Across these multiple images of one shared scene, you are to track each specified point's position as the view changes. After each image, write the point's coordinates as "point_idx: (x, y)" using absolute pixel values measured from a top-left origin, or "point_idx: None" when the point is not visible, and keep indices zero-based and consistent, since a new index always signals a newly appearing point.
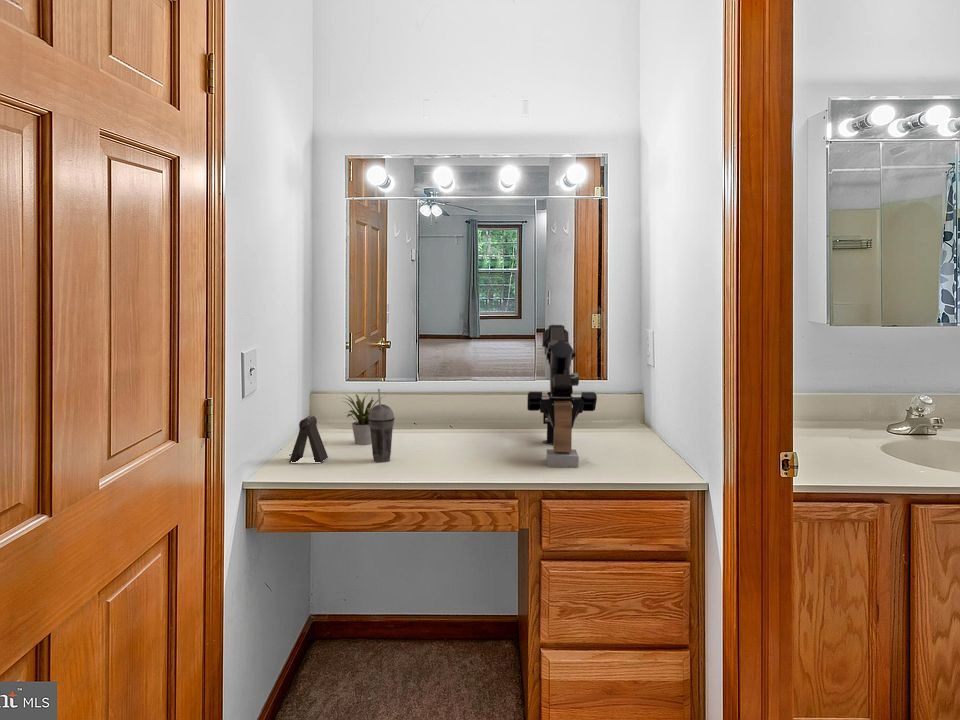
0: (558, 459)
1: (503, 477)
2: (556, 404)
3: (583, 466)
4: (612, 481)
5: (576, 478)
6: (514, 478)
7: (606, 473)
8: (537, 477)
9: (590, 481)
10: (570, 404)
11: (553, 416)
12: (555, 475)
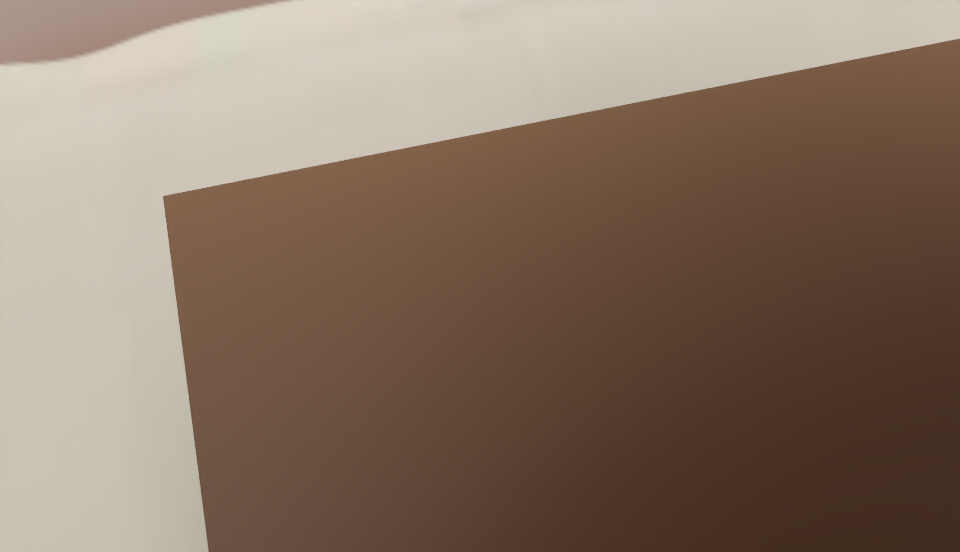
0: None
1: (758, 8)
2: (915, 59)
3: None
4: (48, 76)
5: (306, 88)
6: (689, 3)
7: (77, 271)
8: (563, 52)
9: (206, 43)
10: (267, 201)
11: None
12: (460, 123)
